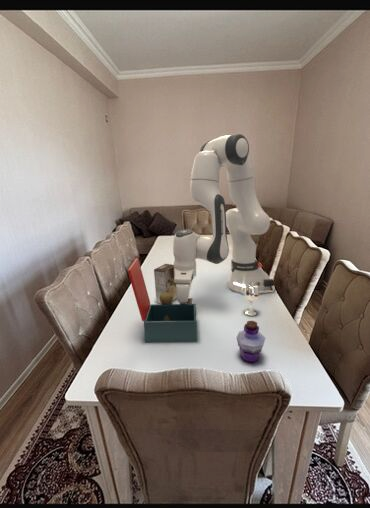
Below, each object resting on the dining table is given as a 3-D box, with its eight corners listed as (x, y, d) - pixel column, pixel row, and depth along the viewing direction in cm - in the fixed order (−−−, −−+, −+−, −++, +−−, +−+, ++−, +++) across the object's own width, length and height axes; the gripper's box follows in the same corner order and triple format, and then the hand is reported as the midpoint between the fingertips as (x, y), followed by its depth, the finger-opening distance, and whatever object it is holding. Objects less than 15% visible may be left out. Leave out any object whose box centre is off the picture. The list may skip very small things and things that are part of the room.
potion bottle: (246, 344, 83) (248, 312, 79) (270, 357, 77) (273, 323, 73) (229, 356, 78) (230, 322, 74) (253, 371, 71) (255, 335, 68)
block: (192, 308, 107) (192, 298, 105) (192, 314, 102) (192, 303, 100) (180, 308, 107) (180, 298, 105) (180, 314, 102) (179, 303, 101)
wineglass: (259, 316, 99) (261, 288, 95) (245, 316, 99) (246, 289, 95) (255, 309, 104) (257, 282, 101) (241, 309, 104) (243, 283, 101)
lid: (138, 257, 90) (135, 258, 90) (129, 270, 78) (127, 270, 78) (150, 303, 95) (148, 303, 95) (144, 321, 83) (142, 321, 83)
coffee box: (167, 294, 120) (165, 263, 116) (178, 297, 117) (177, 265, 112) (155, 302, 113) (153, 269, 108) (167, 305, 110) (165, 271, 105)
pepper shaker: (173, 324, 95) (171, 298, 92) (157, 322, 97) (156, 296, 93) (176, 315, 101) (175, 291, 98) (162, 314, 102) (160, 290, 99)
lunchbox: (196, 321, 97) (195, 303, 95) (196, 341, 85) (196, 321, 83) (150, 322, 97) (149, 304, 95) (145, 342, 85) (143, 322, 83)
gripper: (180, 262, 109) (181, 291, 113) (173, 280, 89) (174, 314, 94) (194, 262, 108) (195, 292, 112) (190, 281, 89) (191, 315, 93)
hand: (185, 302), depth 103 cm, fingers open, 8 cm apart
